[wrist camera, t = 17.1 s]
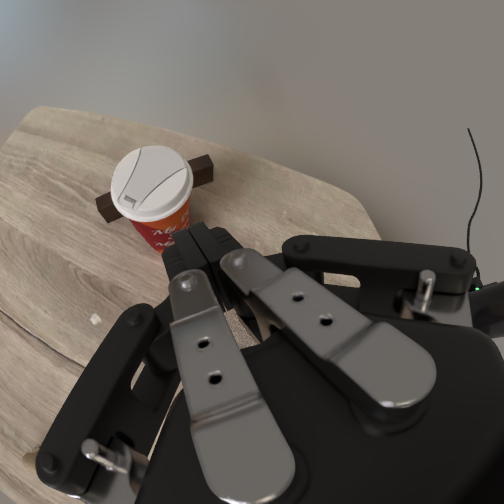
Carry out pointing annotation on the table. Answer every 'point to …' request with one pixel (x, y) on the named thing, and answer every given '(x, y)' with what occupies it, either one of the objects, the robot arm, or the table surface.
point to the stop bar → (201, 175)
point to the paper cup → (154, 193)
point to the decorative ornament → (30, 460)
